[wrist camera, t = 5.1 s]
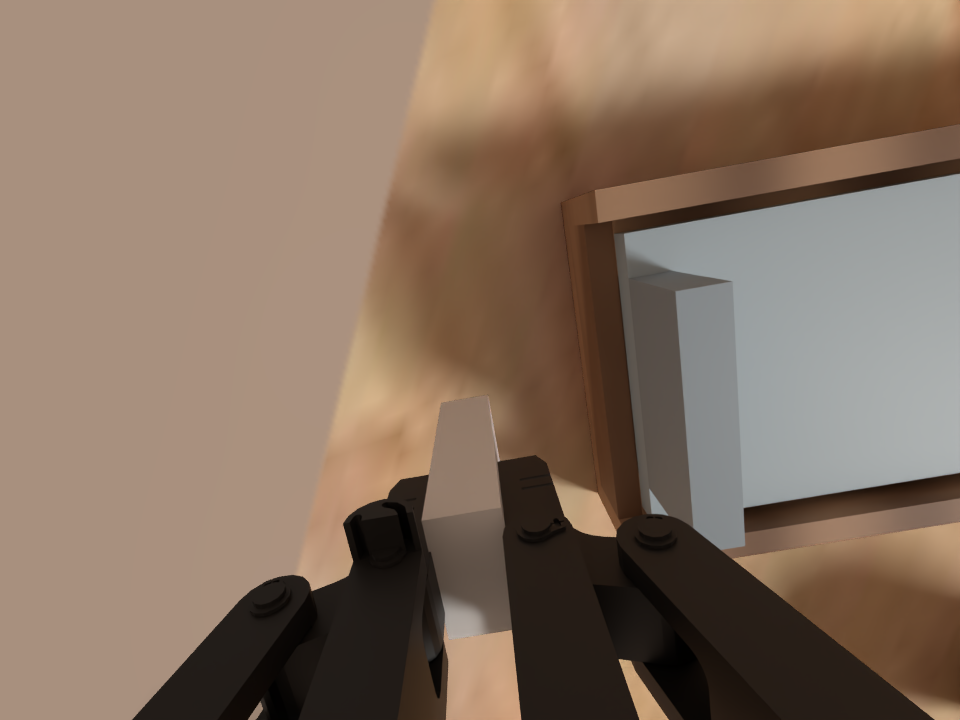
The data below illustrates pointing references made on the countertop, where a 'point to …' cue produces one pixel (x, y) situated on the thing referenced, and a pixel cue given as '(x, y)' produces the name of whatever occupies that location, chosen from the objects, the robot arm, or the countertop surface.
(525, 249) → the countertop surface
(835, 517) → the box body
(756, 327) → the cover plate
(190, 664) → the robot arm
